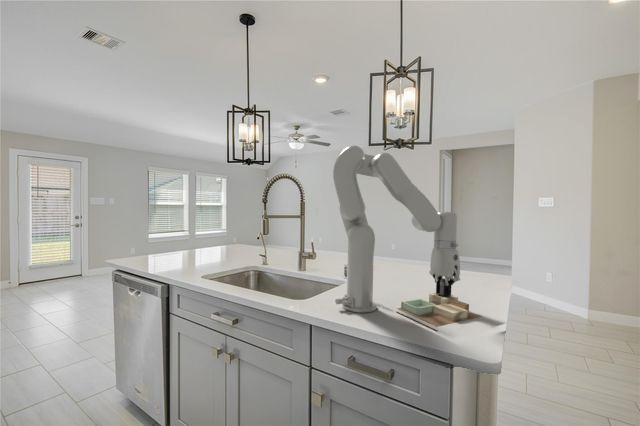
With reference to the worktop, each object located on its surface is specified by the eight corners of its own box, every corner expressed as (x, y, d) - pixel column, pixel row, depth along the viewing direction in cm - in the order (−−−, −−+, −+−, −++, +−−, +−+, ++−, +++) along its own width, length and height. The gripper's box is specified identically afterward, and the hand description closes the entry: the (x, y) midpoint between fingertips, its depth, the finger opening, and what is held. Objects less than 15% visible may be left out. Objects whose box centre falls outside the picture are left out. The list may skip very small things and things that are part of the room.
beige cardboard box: (452, 321, 96) (453, 313, 96) (433, 313, 104) (433, 305, 103) (467, 317, 100) (467, 310, 100) (447, 310, 107) (447, 303, 107)
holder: (444, 310, 107) (444, 299, 107) (428, 304, 113) (429, 293, 113) (457, 307, 110) (458, 296, 110) (442, 302, 116) (442, 291, 116)
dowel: (443, 307, 110) (444, 280, 109) (437, 305, 112) (438, 278, 112) (448, 306, 111) (449, 279, 111) (442, 304, 113) (443, 278, 113)
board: (436, 331, 92) (436, 313, 92) (396, 312, 108) (396, 297, 108) (482, 320, 102) (483, 304, 102) (439, 304, 118) (440, 290, 118)
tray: (417, 315, 101) (417, 308, 101) (401, 308, 107) (401, 301, 107) (436, 312, 105) (436, 304, 105) (420, 305, 112) (420, 298, 112)
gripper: (471, 247, 105) (469, 299, 106) (434, 242, 120) (433, 288, 120) (456, 248, 102) (455, 302, 102) (420, 242, 117) (419, 290, 117)
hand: (443, 294), depth 111 cm, fingers closed on dowel, 2 cm apart
